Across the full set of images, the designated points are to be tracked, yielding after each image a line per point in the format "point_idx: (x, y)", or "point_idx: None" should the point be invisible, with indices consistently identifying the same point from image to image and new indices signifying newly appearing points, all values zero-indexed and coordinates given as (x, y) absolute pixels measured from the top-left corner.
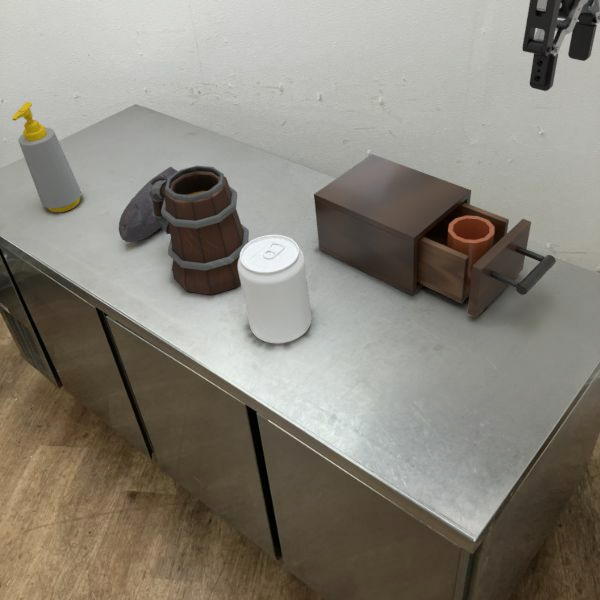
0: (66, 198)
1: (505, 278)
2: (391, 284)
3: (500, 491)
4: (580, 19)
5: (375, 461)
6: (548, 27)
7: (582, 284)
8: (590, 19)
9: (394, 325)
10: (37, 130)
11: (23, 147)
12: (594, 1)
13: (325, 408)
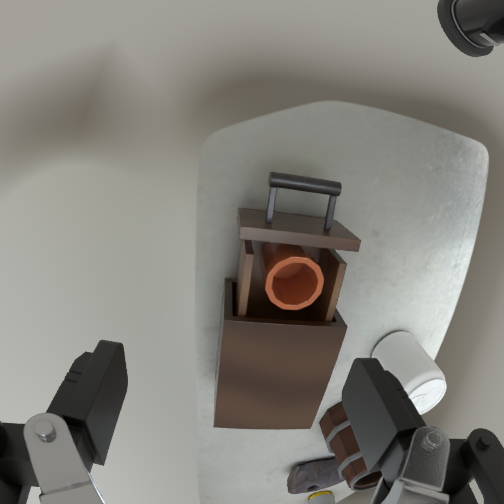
0: (327, 497)
1: (332, 212)
2: None
3: (465, 139)
4: (89, 466)
5: (474, 222)
6: None
7: (219, 142)
8: (78, 450)
9: (365, 280)
10: None
11: None
12: None
13: (451, 275)
